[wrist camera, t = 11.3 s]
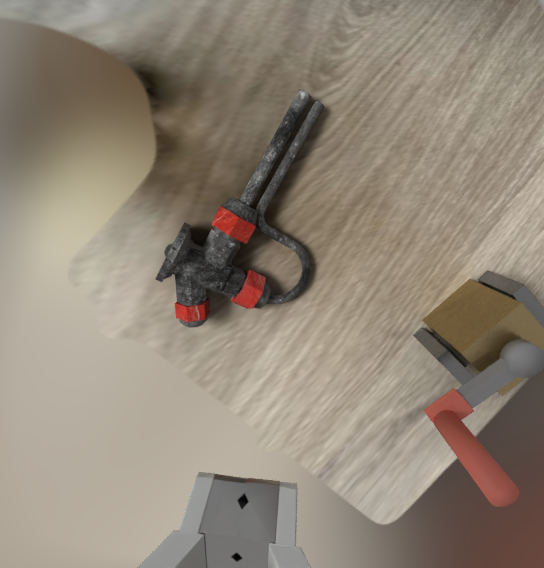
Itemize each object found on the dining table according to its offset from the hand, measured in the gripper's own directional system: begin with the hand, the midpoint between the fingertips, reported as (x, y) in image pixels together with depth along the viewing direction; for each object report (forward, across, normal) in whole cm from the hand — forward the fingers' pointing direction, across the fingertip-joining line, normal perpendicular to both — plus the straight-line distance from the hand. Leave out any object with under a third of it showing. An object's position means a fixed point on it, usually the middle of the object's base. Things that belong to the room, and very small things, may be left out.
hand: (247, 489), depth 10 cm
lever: (+21, -19, +11) cm, 30 cm away
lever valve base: (+30, -21, +10) cm, 38 cm away
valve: (+29, +3, 0) cm, 29 cm away
